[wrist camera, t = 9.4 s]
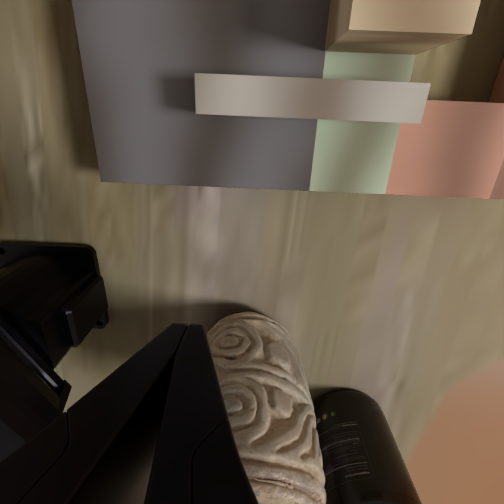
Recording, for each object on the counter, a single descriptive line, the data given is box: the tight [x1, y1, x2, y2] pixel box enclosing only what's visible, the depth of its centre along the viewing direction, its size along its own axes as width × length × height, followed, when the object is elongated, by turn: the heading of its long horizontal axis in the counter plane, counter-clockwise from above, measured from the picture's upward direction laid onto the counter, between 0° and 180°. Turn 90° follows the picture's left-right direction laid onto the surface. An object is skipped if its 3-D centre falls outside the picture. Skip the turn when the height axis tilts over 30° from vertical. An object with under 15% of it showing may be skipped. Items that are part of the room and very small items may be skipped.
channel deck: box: [72, 0, 504, 199], centre depth 13 cm, size 22×16×4 cm
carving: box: [207, 312, 326, 504], centre depth 18 cm, size 6×8×12 cm
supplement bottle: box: [313, 390, 422, 504], centre depth 21 cm, size 7×7×12 cm
